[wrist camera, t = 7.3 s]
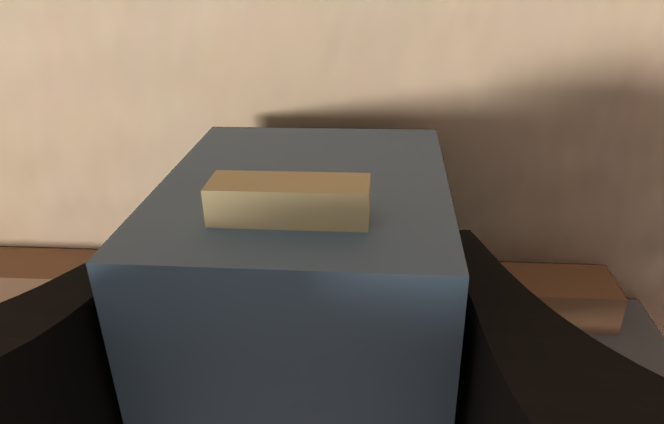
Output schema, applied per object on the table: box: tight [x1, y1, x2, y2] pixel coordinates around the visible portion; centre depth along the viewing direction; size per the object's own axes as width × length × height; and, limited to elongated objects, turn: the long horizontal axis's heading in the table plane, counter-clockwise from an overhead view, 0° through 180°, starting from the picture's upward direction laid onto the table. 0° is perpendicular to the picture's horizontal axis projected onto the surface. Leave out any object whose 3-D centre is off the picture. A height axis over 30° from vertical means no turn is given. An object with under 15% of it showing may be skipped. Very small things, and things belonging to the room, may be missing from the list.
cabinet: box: [86, 127, 469, 424], centre depth 11 cm, size 5×5×6 cm
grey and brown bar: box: [0, 247, 664, 377], centre depth 14 cm, size 20×3×4 cm, turn 91°
